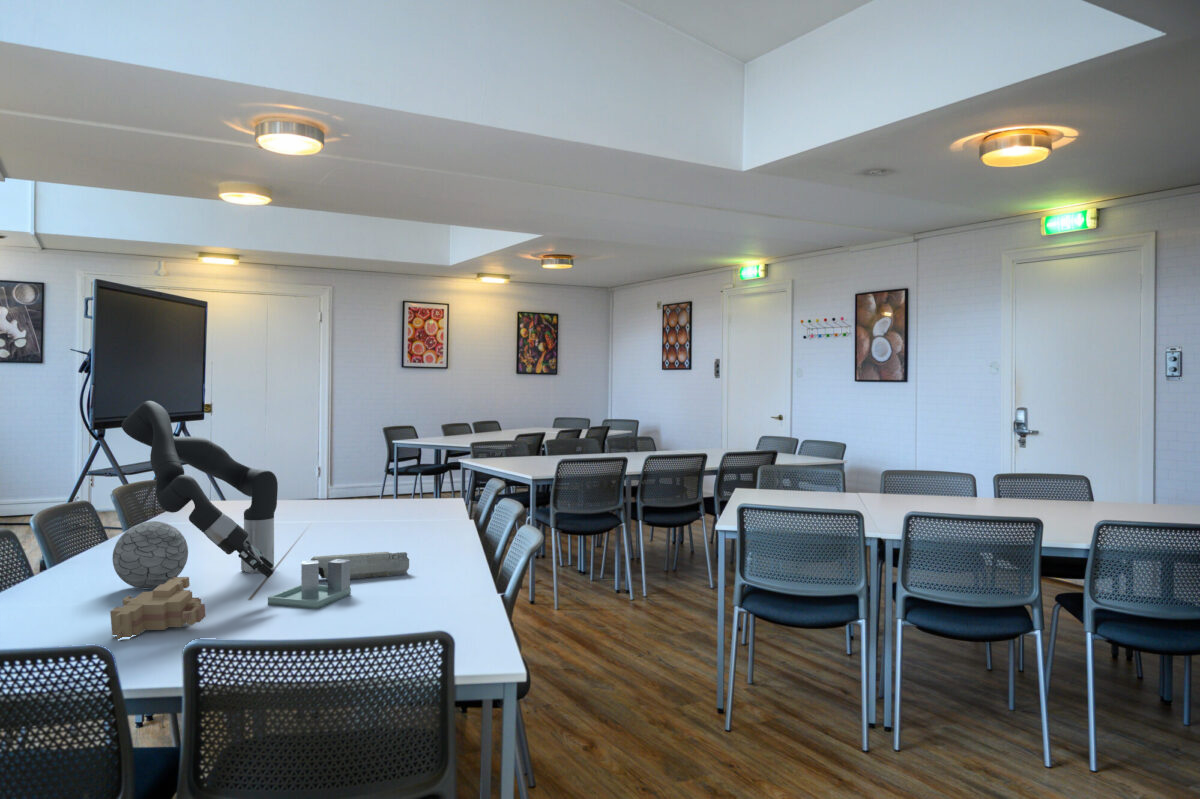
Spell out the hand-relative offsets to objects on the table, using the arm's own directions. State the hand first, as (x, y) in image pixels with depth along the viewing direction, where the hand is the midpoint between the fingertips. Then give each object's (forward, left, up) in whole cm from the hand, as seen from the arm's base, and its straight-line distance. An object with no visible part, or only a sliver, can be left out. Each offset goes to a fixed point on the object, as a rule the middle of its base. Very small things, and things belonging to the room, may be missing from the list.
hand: (270, 571), depth 224 cm
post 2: (+14, +12, -9) cm, 20 cm away
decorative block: (+7, +34, -9) cm, 36 cm away
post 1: (+8, +6, -8) cm, 13 cm away
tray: (+8, +6, -9) cm, 14 cm away
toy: (-9, -29, -9) cm, 31 cm away
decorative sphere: (-45, +3, -9) cm, 46 cm away
